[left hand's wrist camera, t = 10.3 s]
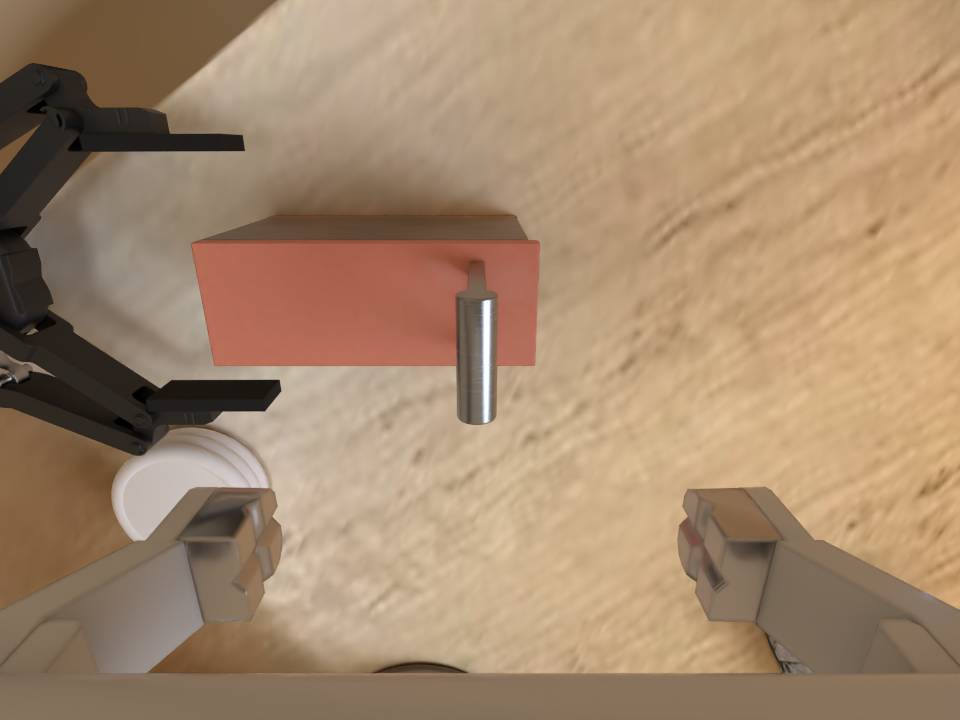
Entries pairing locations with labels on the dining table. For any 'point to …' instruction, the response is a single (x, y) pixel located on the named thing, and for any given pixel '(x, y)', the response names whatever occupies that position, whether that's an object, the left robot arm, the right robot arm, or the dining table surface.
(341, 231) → the chest
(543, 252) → the dining table surface
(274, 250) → the lid
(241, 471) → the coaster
